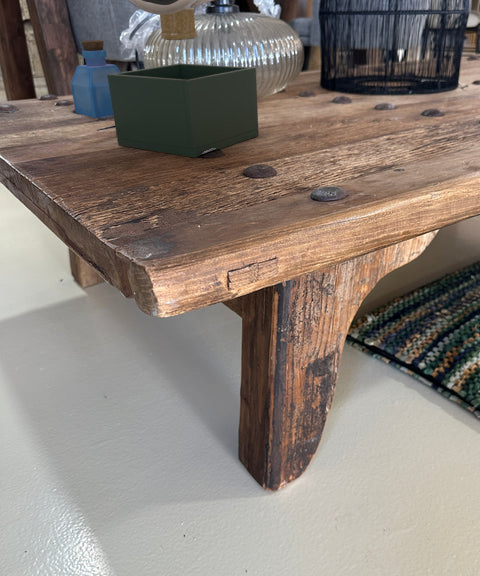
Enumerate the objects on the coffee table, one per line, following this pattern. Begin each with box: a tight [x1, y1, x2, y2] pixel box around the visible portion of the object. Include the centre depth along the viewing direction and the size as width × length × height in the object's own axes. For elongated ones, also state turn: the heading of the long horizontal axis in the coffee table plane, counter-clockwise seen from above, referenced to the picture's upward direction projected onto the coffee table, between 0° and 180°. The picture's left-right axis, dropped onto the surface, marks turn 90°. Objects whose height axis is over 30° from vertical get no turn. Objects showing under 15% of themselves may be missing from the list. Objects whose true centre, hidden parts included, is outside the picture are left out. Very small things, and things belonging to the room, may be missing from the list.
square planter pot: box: [107, 62, 260, 159], centre depth 76 cm, size 14×14×9 cm
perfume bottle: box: [69, 39, 122, 132], centre depth 86 cm, size 6×6×12 cm
